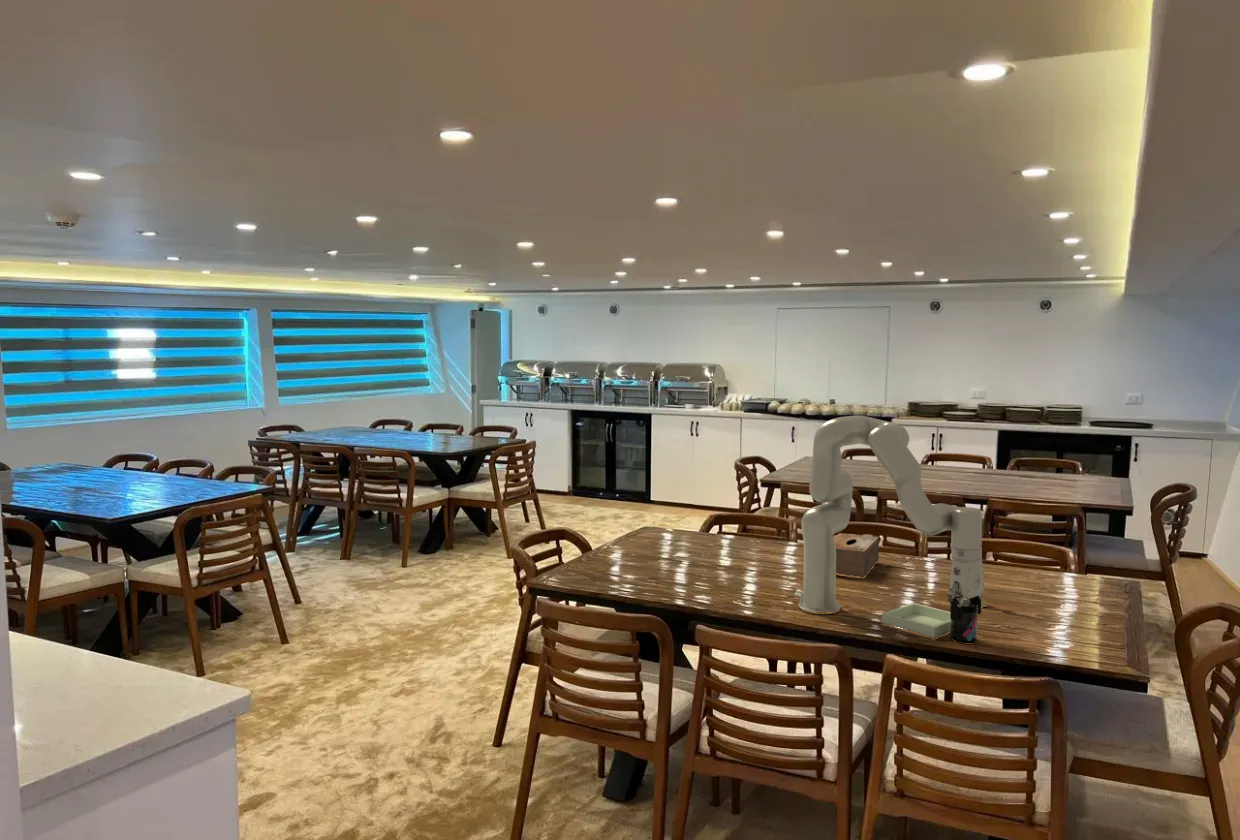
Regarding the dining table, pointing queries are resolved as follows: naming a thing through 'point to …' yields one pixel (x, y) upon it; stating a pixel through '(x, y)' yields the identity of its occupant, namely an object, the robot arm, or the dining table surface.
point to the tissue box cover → (855, 554)
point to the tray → (919, 619)
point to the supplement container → (966, 624)
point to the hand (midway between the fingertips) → (965, 616)
